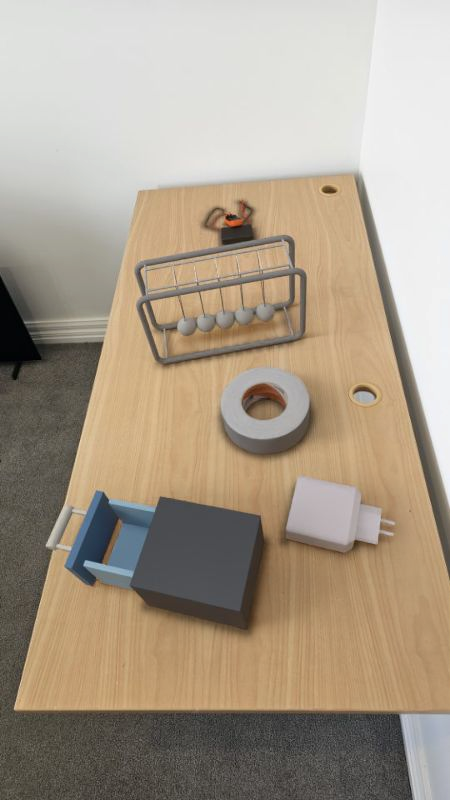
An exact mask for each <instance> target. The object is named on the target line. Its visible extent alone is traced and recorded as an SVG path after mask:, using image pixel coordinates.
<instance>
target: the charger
mask: <svg viewBox="0 0 450 800" xmlns="http://www.w3.org/2000/svg"><path fill="white" fill-rule="evenodd" d="M361 500H362V493H361V492H360V490H359V489H358V487H357V486H352V485H349V484H348V485H347V484H344V483H339V482H334V481H329V480H323V479H319V478H314V477H309V476H305V475H299V474H298V476H297V479H296V482H295V488H294V492H293V496H292V500H291V505H290V509H289V512H288V517H287V522H286V528H285V539H286V540H290V541H294V542H299V543H303V544H306V545H311V546H314V547H319V548H323V549H326V550H331V551H335V552H338V553H339V552H340V553H343V554H346V553H347V552H349V551H350V550H352V549H353V548H354V544H355V541H358V542H359V541H360V542H363V543H369V544H373V545H378V542H379V541H378V540H379V536H380V535H379V534H381V535H384V536H389V537H394V536H395V533H394V532H391V531H387V530H383V529H380V527H381V523H382V524H387V525H390V526H395V525H396V521H394V520H393V521H392V520H388V519H385V518H382V507H378V506H375V505H374V506H373V505H370V504H369V505H368V504H366V503H365V504H364V503H361Z"/></svg>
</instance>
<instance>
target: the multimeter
mask: <svg viewBox="0 0 450 800" xmlns="http://www.w3.org/2000/svg"><path fill="white" fill-rule="evenodd" d="M238 202H239V203H241V212H243V211H244V207H246V208H247V209H248V210H250V213H249V215H251V214H252V213H253V212H252V209H251V207H250V206H248V205H246V204H245V203H244V198H243V197H242V199H241V201H240V200H238ZM217 209H219V210H221V211H222V213H220V214H218V215H217V216H216V217H215V219H214V220H213V221H212V223H211V224H210V225H209V226H208V225H207V221H208V220H209V218H210V216H211V215H212V214H213V212H214V211H215V210H217ZM221 215H222V216H224V223H225V224H226V225H228V226H223V227H220V228H217V227H215V226H212V225H214V222H216V219H217V218H218V217H219V216H221ZM242 216H243V217H245V219H244V220H243V218H241V217H239V216H238V215H236V214H234V213H233V214H232V213H231V212H230V211H227V212H224V209H223V208H220V207H216V208H214V209H213V210H212V211H211V212H210V214H209V215H208V217H207V218H206V221H205V223H204V224H205V225H204V226H205V227H207V228H213V229H214V230H215V229H216V230H218V231H220V235H221V243H222V245H230V244H235V243H241V242H246V241H252V240H254V234H253V233H254V232H253V226H252V224H250V223H251V219H250V218H249V216H246V215H244V214H242ZM246 220H249V222H248V223H247V224H243V223H244V222H246Z"/></svg>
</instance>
